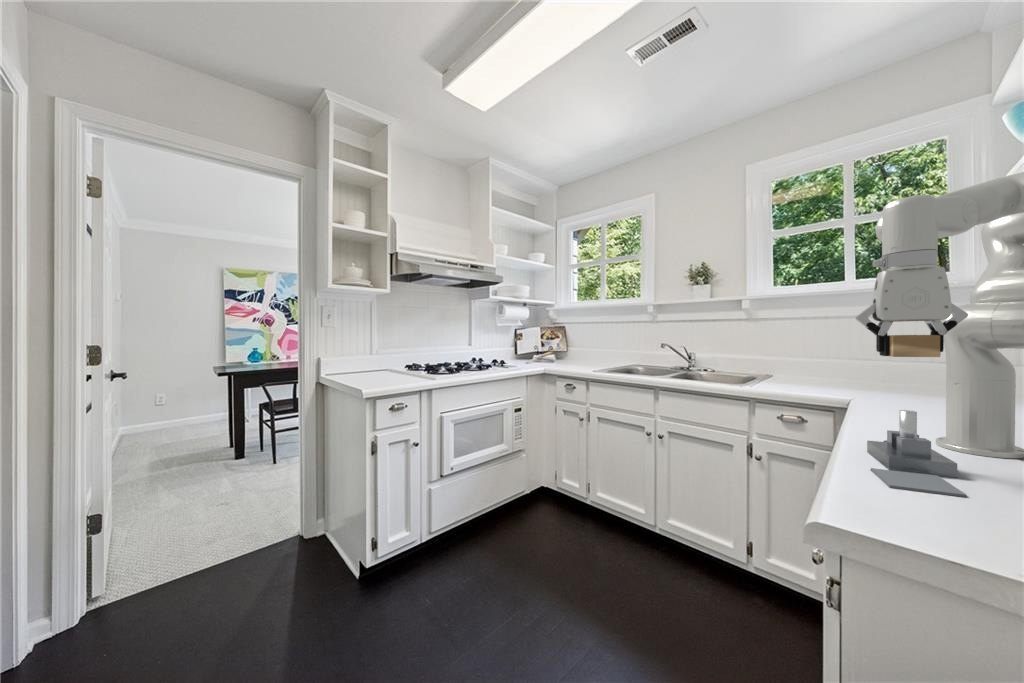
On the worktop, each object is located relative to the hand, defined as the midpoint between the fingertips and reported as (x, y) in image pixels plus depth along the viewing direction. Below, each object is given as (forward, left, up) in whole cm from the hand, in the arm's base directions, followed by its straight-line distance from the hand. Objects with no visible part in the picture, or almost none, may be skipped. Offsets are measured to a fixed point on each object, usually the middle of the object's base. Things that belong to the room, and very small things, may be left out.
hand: (908, 355), depth 75 cm
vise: (-2, 0, -21) cm, 21 cm away
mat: (+12, -3, -21) cm, 25 cm away
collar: (0, 0, 0) cm, 0 cm away
